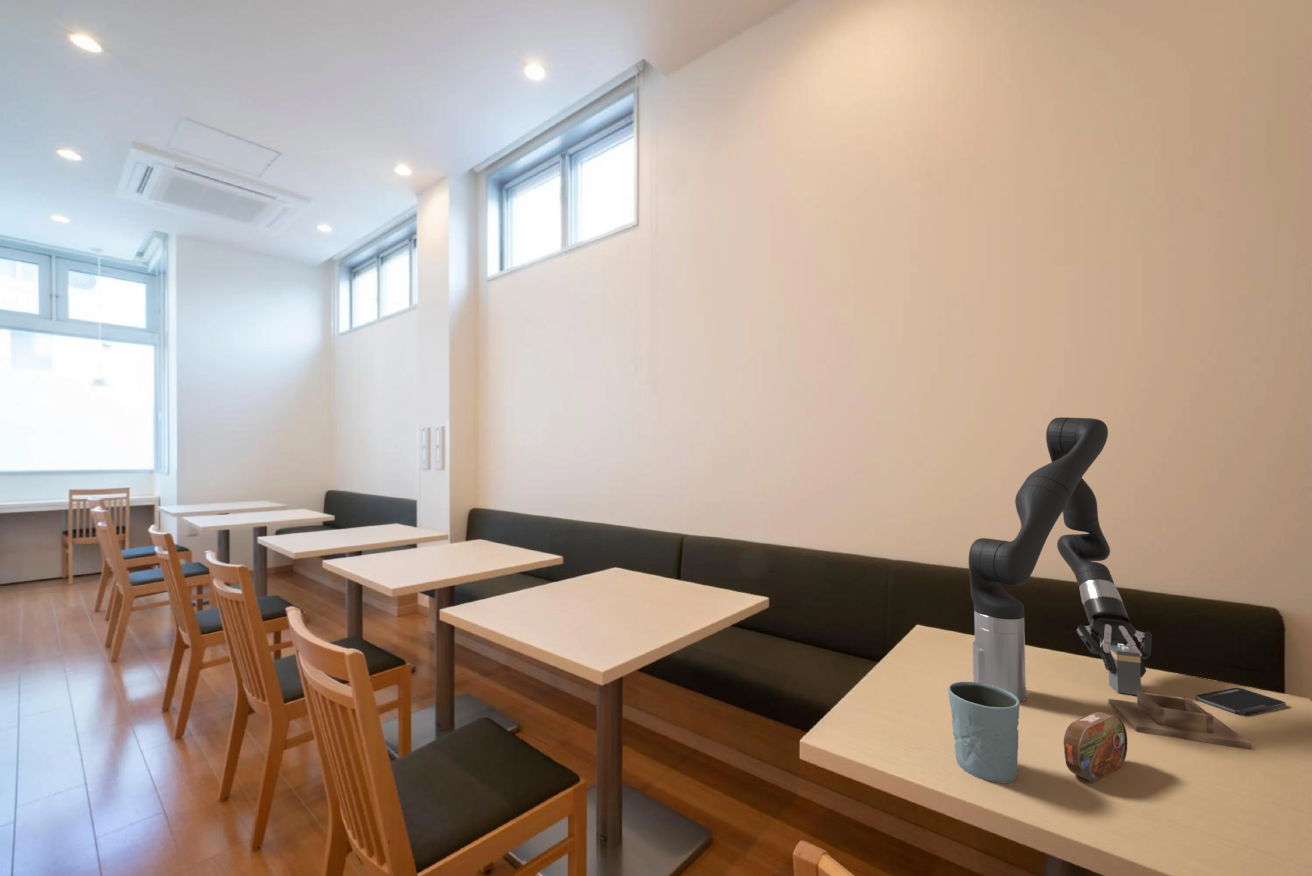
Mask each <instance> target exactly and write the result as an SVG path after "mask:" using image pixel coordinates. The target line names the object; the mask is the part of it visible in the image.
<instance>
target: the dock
mask: <svg viewBox="0 0 1312 876" xmlns="http://www.w3.org/2000/svg"><path fill="white" fill-rule="evenodd" d="M1108 704H1109V705H1110V706H1111V708H1112V709H1113V710H1115V711H1116V713H1118V715H1120V717H1122V719H1124V721H1125V722H1126V723H1127V724H1128V725H1130V727H1131V728H1132V729H1134V730H1135V731H1136V732H1137V733H1144V734H1150V735H1151V734H1152V735H1159V736H1165V737H1170V738H1177V739H1184V740H1190V741H1195V742H1204V743H1210V744H1214V745H1215V744H1216V745H1223V746H1226V747H1227V746H1228V747H1234V748H1241V749H1245V750H1246V749H1247V750H1251V749H1252V743H1251V742H1250V741H1248V740H1247V739H1245V738H1244V737H1243V736H1242V735H1240V734H1238V732H1236V731H1235V730H1233V729H1232V728H1231V727H1230V726H1228V725H1227V724H1226V723H1224V722H1222V721H1221V720H1220V719H1219V718H1217V717H1216V716H1214V715H1213V714H1212V713H1211V712H1208V711H1206V710H1205V709H1204V708H1202V707H1201V706H1200V705H1198V704H1197V703H1195V701H1193V700H1192V699H1190V698H1189V697H1184V696H1183V697H1181V696H1175V695H1168V694H1167V695H1166V694H1159V693H1153V692H1145V691H1141V692H1139V691H1137V695H1136V701H1129V700H1121V699H1113V698H1108Z"/></svg>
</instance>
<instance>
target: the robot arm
mask: <svg viewBox="0 0 1312 876" xmlns="http://www.w3.org/2000/svg"><path fill="white" fill-rule="evenodd" d="M1108 436H1109V429H1108V426H1107V424H1106V423H1105V422H1104V421H1102V420H1101V419H1098V418H1091V417H1090V418H1089V417H1060V416H1059V417H1055V418H1053V419H1051V421H1050V422H1049V423H1048V425H1047V428H1046V434H1045V441H1046V446H1047V450H1048V454H1049V457H1050V460H1051V462H1050V463H1047V464H1045V465H1043V466H1042V467H1039V468H1038V469H1035V471H1033V472H1031V473H1030V474H1029V475H1028V476H1027V477H1026V478H1025V480H1024V482H1023V483H1022V485H1021V487H1020V488H1019V489H1018V491H1017V493H1016V495H1015V500H1014V503H1015V509H1016V513H1017V516H1018V518H1019V521H1020V525H1021V526H1020V530H1019V532H1018V533H1017V535H1016V537H1015V538H1014V539H1013V540H1010V541H1008V540H1002V539H995V538H988V537H987V538H986V537H981V538H977V539H975V540H974V541H973V543H972V544H971V546H970V548H969V553H968V572H969V573H968V575H969V585H970V588H969V589H970V596H971V597H970V598H971V599H972V602H973V609H974V610H973V611H974V612H973V614H974V619H973V620H974V622H973V623H974V641H973V642H972V664H973V665H972V667H973V668H972V671H973V672H972V674H973V677H972V679H973V681H972V682H977V683H983V684H988V685H992V686H996V687H999V688H1001V689H1003V690H1006V691H1008V692H1010V693H1012V694H1013V695H1015V696H1016V697H1017V698H1018V700H1019V702H1023V701H1026V700H1027V699H1026V698H1027V684H1026V682H1027V681H1026V676H1027V675H1026V641H1025V640H1026V638H1025V606H1024V604H1023V603H1022V601H1020V600H1019V599H1017V598H1015V597H1013V596H1012V595H1011V594H1009V593H1008V591H1006V590H1005V589H1004V588H1003V587H1002V585H1001V584H1005V585H1008V586H1022V585H1023V584H1025V583H1026V582H1027V581H1028V580H1029V579H1030V577H1031V575H1032V574H1033V572H1034V570H1035V568H1036V565H1037V563H1038V560H1039V558H1040V555H1041V553H1042V550H1043V548H1044V546H1045V544H1046V541H1047V539H1048V537H1049V535H1050V533H1051V531H1052V530H1053V528H1054V526H1055V525H1056V522H1057V521H1058V519H1059V518H1060V516H1061V515H1062V517H1063V523H1064V525H1065V526H1066V528H1067V529H1070V530H1072V531H1075V532H1076V531H1078V532H1082V533H1076V534H1075V533H1073V534H1070V533H1069V534H1063V535H1061V536H1059V538H1058V540H1057V543H1056V544H1057V545H1056V546H1057V550H1058V552H1059V555H1060V556H1061V557H1062V559H1063V560H1064V562H1066V564H1067V565H1068V567H1069V568H1070V569H1071V571H1072V572H1073V574H1074V576H1075V579H1076V582H1077V586H1078V587H1079V592H1080V593H1079V594H1080V599H1081V603H1082V605H1083V609H1084V612H1085V614H1086V617H1087V620H1088V622H1089V623H1088V625H1084V624H1079V625H1078V626H1077V628H1076V633H1077V635H1078V636H1079V638H1080V640H1081V641H1082V642H1083V643H1084V645H1085V646H1086V648H1087V649H1088V651H1089V652H1090V653H1091V654H1093V655H1099V656H1100V657H1101V659H1102V662H1103V664H1104V668H1105V669H1106V671H1108V672H1109V671H1110V673H1111V674H1115V673H1116V672H1117V668H1116V665H1115V662H1114V659H1113V657H1112V654H1110V647H1109V645H1110V644H1112V645H1118V643H1119V644H1124V645H1125V646H1129V647H1132V648H1133V649H1134V650H1136V651H1137V652H1139V653H1140V658H1141V663H1140V671H1141V678H1142V677H1144V676H1145V674H1146V673H1147V668H1146V666H1145V664H1144V661H1147V660H1148V659H1149V657H1150V656H1151V655H1152V641H1153V639H1152V638H1153V634H1152V633H1151V632H1150V631H1145V632H1142V631H1141V630H1140V631H1139V630H1136V628H1135V627H1134V626H1133V625H1132V623H1131V621H1130V618H1129V616H1128V615H1129V614H1128V612H1127V610H1126V607H1125V604H1124V602H1123V600H1122V597H1121V595H1120V593H1119V590H1118V589H1117V587H1116V583H1115V582H1114V580H1113V576H1112V575H1111V571H1110V570H1109V567H1108V566H1107V565H1105V564H1103V563H1101V561H1106V560H1107V559H1108V558H1109V557H1110V554H1111V548H1110V545H1109V543H1108V541H1107V539H1106V537H1105V535H1104V533H1103V530H1102V528H1101V525H1100V521H1099V513H1098V501H1097V497H1096V495H1095V493H1094V491H1093V490H1092V488H1091V487H1090V486H1089V485H1088V483H1087V482H1086V481H1085V480H1084V479H1083V477H1084V475H1085V474H1086V472H1087V471H1088V470H1089V468H1090V467H1091V466H1092V464H1094V462H1095V460H1097V459H1098V457H1099V456H1100V455H1101V453H1102V451H1103V450H1104V447H1105V446H1106V444H1107V441H1108ZM1091 634H1093V635H1095V637H1097V638H1098V640H1100V641H1099V644H1098V642H1097V641H1096V640H1095V638H1094V637H1093V636H1092V635H1091ZM1134 637H1136V638H1137V641H1138V642H1139V643H1140V649H1139V648H1138V647H1137V644H1136V641H1135V640H1134V639H1133V638H1134Z"/></svg>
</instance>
